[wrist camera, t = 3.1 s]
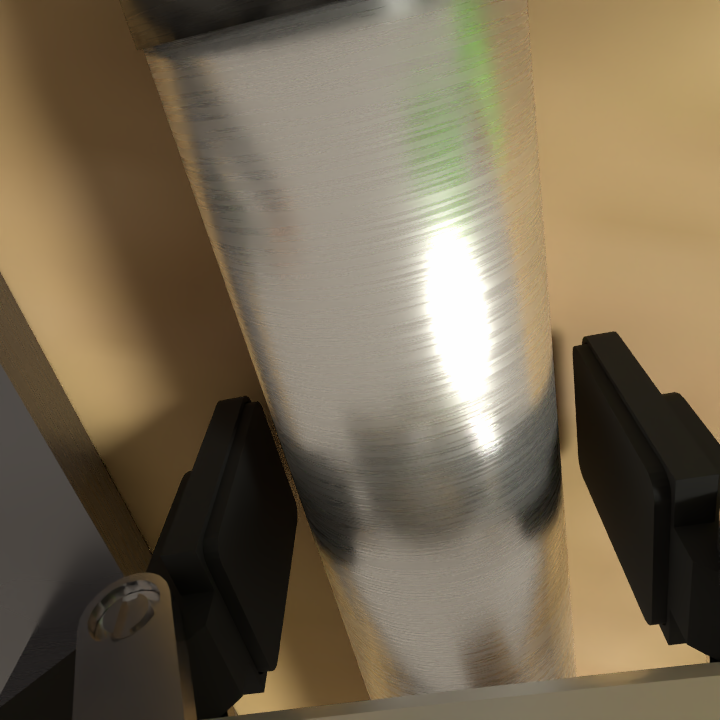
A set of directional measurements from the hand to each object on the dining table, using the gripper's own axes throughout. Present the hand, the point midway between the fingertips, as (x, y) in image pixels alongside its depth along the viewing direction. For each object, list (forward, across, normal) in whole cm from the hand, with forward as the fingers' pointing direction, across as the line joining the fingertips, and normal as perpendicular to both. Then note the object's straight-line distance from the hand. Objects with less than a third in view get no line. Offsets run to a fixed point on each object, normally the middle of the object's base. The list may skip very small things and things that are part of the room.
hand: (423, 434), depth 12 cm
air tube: (+1, 0, 0) cm, 1 cm away
